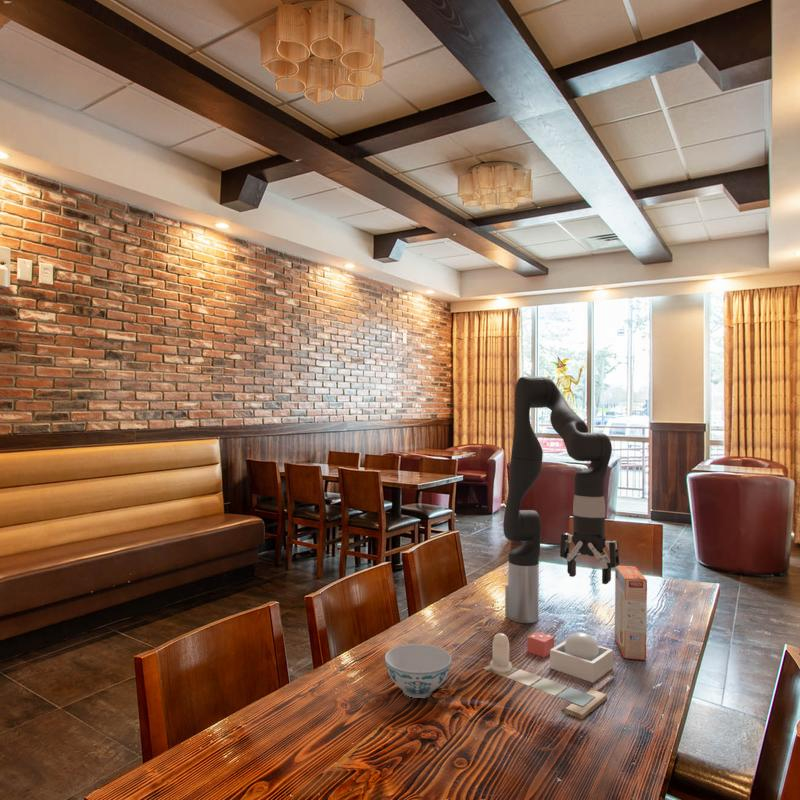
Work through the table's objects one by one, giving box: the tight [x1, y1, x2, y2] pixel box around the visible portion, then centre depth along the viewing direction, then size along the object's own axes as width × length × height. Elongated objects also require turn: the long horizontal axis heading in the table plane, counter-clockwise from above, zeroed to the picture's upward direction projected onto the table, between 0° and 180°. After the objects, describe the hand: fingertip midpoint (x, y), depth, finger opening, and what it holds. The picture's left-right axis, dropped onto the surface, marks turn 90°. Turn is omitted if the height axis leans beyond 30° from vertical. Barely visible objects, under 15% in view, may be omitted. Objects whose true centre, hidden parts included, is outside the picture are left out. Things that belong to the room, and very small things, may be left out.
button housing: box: [549, 640, 614, 688], centre depth 140 cm, size 11×11×6 cm
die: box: [526, 631, 555, 658], centre depth 149 cm, size 5×5×5 cm
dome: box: [565, 631, 599, 661], centre depth 140 cm, size 8×8×8 cm
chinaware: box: [384, 643, 452, 699], centre depth 129 cm, size 15×15×8 cm
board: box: [483, 664, 608, 720], centre depth 132 cm, size 28×12×1 cm, turn 47°
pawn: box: [489, 632, 513, 674], centre depth 139 cm, size 5×5×8 cm
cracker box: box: [614, 565, 648, 661], centre depth 154 cm, size 14×6×21 cm, turn 168°
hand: (588, 579), depth 141 cm, fingers open, 8 cm apart
